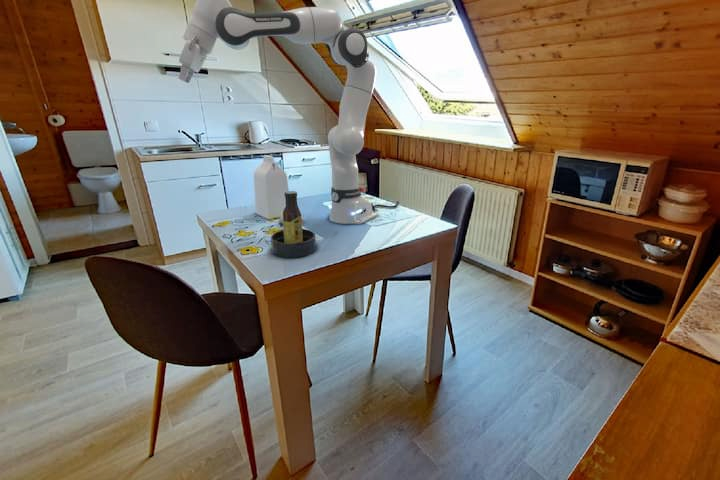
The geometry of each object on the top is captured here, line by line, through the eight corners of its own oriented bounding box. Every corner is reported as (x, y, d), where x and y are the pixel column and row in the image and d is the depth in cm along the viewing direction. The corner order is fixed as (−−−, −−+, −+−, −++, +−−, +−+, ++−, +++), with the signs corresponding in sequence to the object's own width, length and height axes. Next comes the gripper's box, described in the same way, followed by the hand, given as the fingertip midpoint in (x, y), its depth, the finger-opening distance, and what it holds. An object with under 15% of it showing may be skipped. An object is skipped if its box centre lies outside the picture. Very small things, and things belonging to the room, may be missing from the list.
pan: (298, 238, 129) (298, 225, 128) (324, 249, 120) (323, 235, 118) (263, 249, 119) (262, 235, 118) (288, 262, 110) (287, 247, 108)
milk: (255, 213, 159) (249, 155, 149) (278, 208, 166) (273, 153, 156) (268, 219, 150) (262, 158, 141) (291, 214, 158) (287, 156, 148)
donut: (304, 219, 151) (281, 219, 150) (304, 212, 150) (280, 211, 149) (302, 227, 142) (278, 227, 141) (302, 219, 140) (277, 219, 140)
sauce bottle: (299, 252, 116) (295, 195, 109) (281, 251, 117) (277, 194, 110) (306, 245, 122) (302, 190, 115) (289, 244, 123) (285, 189, 116)
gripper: (205, 41, 105) (189, 84, 108) (211, 50, 124) (197, 87, 126) (183, 28, 103) (167, 73, 105) (193, 40, 121) (179, 78, 124)
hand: (183, 81), depth 116 cm, fingers open, 8 cm apart
